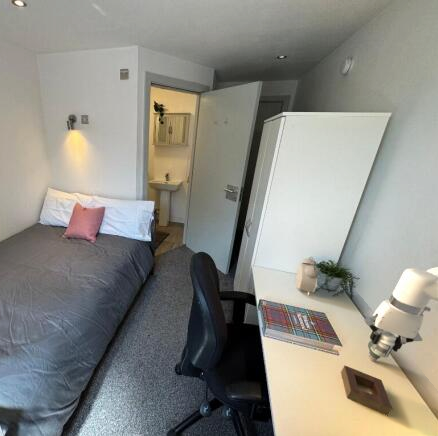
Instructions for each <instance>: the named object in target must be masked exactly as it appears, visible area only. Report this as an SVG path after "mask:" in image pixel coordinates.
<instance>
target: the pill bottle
mask: <svg viewBox="0 0 438 436" xmlns="http://www.w3.org/2000/svg"><path fill="white" fill-rule="evenodd" d="M379 335H380V338H379V340H378V341H377V343H376V344H372V346H371V349H372V351H373V352H374V353H375V354H377V355H379V356H381V357H380V358H388V357H390V355H391V353H392V350H393V347H394V346H395V341H396V337H397V336H396V334H394V333H391V332H388V331H385V330H384V331H383V332H381V333H380V334H379Z"/></svg>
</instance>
